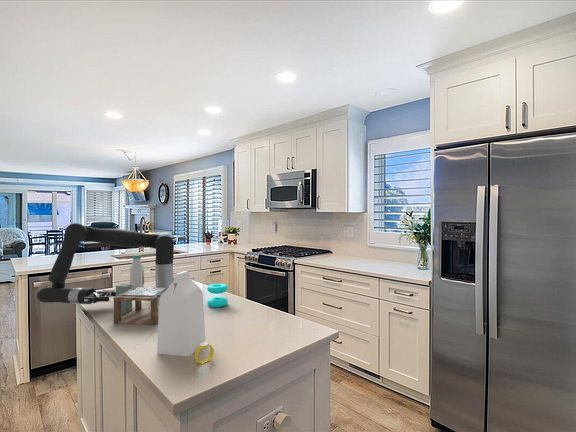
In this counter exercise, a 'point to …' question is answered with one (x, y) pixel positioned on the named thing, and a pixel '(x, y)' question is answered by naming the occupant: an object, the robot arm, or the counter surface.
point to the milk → (181, 317)
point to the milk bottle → (137, 272)
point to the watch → (202, 345)
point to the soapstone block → (125, 304)
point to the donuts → (217, 290)
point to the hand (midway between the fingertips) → (114, 296)
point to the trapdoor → (143, 292)
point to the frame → (137, 311)
